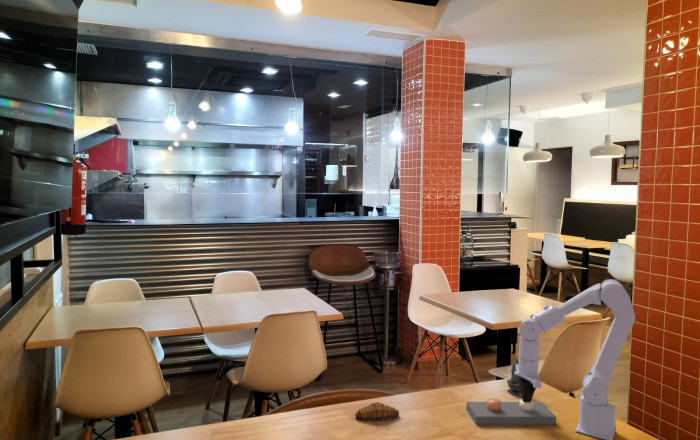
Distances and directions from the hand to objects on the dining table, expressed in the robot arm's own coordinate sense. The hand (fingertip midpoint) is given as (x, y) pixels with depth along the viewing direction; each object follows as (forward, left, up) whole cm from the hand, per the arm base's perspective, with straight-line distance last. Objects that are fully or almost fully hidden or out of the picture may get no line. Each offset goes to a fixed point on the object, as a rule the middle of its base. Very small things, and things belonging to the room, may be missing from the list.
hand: (526, 401), depth 149 cm
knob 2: (0, 0, -4) cm, 4 cm away
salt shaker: (+8, -17, -5) cm, 19 cm away
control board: (+4, +3, -5) cm, 7 cm away
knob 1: (+8, +6, -4) cm, 11 cm away
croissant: (+36, +28, -5) cm, 46 cm away
